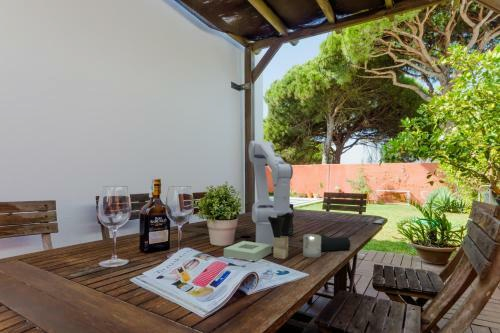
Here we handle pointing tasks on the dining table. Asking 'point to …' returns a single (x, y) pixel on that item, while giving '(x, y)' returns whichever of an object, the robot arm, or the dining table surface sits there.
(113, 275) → the dining table surface
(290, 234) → the storage jar
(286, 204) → the robot arm
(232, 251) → the hole plate
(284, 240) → the square peg
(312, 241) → the round peg
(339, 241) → the pipe connector
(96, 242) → the dining table surface
